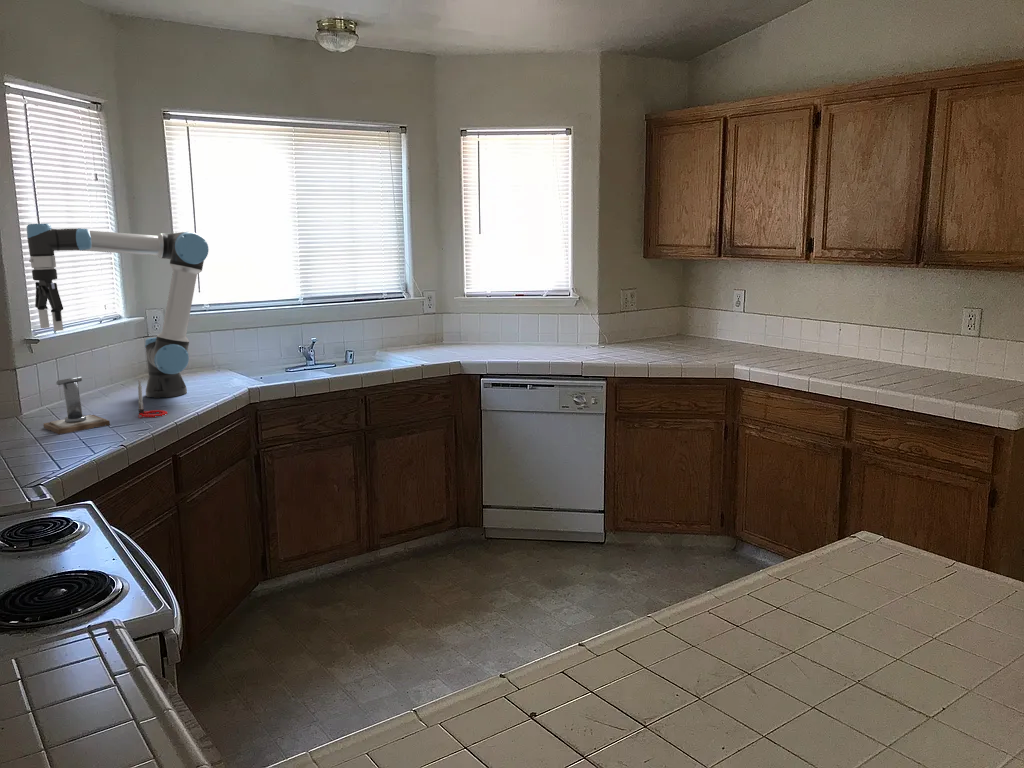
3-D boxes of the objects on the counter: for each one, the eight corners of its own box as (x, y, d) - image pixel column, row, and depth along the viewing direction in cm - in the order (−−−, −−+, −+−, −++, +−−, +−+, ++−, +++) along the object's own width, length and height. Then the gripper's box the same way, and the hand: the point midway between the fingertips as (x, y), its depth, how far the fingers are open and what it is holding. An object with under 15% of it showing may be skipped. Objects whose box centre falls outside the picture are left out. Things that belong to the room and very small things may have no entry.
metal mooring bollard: (81, 416, 283) (75, 375, 279) (90, 419, 279) (84, 377, 276) (58, 421, 277) (51, 379, 273) (66, 424, 273) (60, 381, 270)
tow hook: (168, 412, 298) (140, 414, 295) (166, 377, 296) (138, 378, 293) (166, 417, 290) (137, 419, 288) (164, 381, 288) (135, 382, 285)
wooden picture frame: (93, 418, 289) (93, 413, 288) (109, 424, 279) (109, 419, 279) (44, 427, 277) (43, 421, 277) (59, 434, 268) (58, 428, 268)
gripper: (20, 268, 294) (28, 327, 298) (44, 269, 277) (52, 332, 281) (43, 267, 299) (50, 325, 303) (68, 268, 282) (76, 330, 287)
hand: (51, 329), depth 292 cm, fingers open, 13 cm apart
